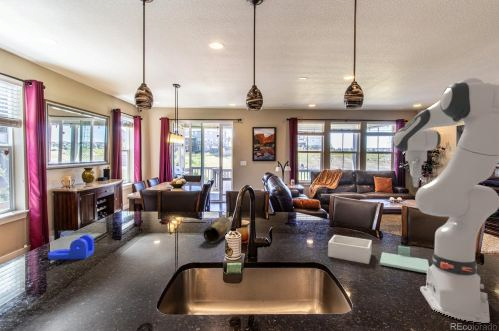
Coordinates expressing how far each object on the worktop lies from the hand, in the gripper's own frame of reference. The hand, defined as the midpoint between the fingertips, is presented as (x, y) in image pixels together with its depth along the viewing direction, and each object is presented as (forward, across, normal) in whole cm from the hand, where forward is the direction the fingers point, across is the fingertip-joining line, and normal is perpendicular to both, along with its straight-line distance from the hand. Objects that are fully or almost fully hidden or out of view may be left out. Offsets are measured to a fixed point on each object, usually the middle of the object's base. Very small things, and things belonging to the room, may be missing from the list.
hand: (415, 186), depth 132 cm
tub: (+34, -16, +27) cm, 46 cm away
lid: (+34, -14, +4) cm, 37 cm away
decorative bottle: (+34, -15, +101) cm, 108 cm away
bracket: (+35, -84, +142) cm, 169 cm away
